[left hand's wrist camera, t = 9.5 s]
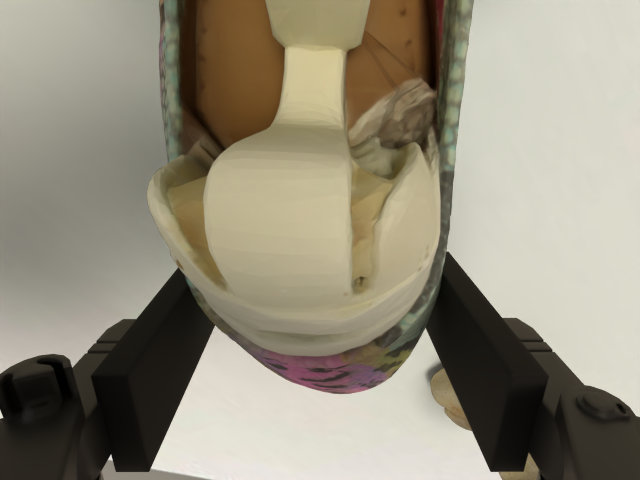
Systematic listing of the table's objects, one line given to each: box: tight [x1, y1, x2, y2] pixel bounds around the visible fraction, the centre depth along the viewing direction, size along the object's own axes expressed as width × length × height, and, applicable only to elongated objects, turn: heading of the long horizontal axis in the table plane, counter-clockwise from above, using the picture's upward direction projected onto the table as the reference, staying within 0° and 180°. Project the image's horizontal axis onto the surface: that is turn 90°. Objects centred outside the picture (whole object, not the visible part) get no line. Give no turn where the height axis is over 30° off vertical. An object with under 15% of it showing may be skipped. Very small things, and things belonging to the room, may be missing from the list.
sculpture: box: [431, 368, 539, 480], centre depth 23 cm, size 6×7×15 cm
